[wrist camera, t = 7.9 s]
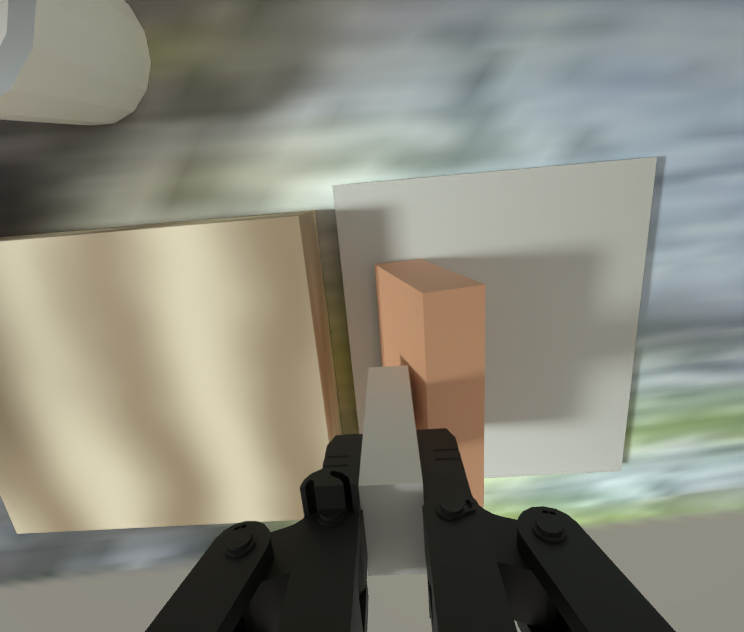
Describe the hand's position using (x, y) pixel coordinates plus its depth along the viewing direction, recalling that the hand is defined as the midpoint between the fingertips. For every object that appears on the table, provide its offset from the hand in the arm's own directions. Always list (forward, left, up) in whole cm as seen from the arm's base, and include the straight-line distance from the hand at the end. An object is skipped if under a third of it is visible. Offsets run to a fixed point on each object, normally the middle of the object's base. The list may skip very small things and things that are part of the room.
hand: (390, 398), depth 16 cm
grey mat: (+5, 0, -5) cm, 7 cm away
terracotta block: (0, 0, -1) cm, 1 cm away
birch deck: (-11, 0, -5) cm, 12 cm away
